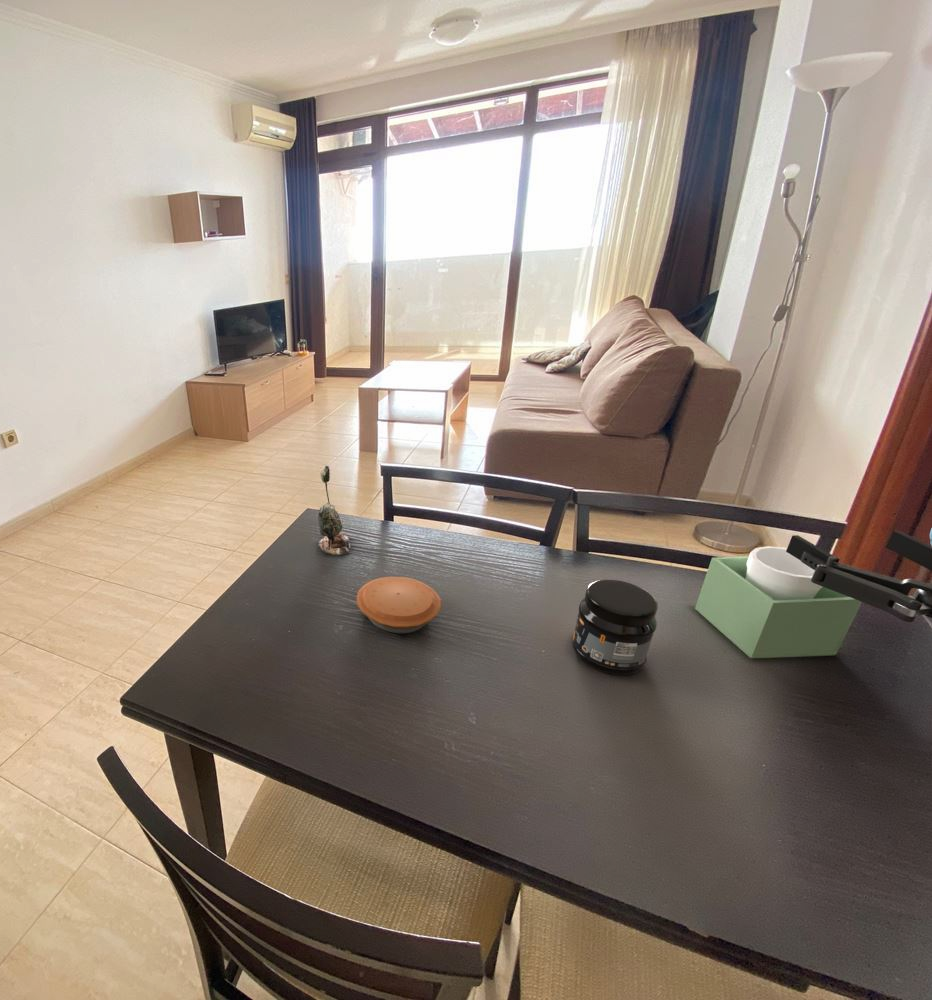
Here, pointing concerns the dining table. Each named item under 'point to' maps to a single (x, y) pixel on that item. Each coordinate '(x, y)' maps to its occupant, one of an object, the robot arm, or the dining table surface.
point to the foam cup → (780, 574)
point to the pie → (398, 603)
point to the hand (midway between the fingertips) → (841, 541)
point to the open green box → (772, 615)
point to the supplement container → (615, 626)
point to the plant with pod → (331, 525)
